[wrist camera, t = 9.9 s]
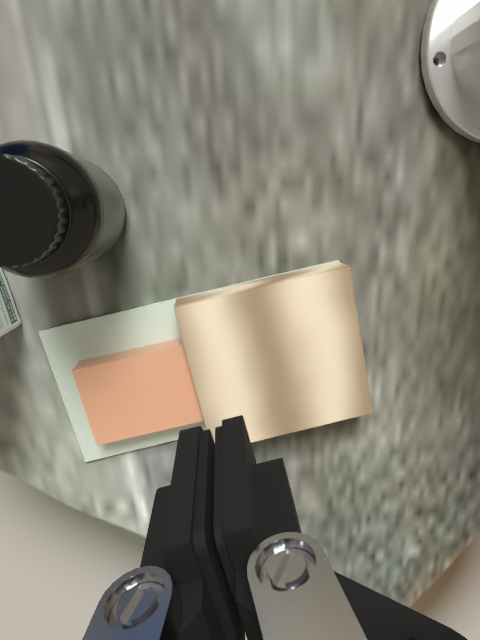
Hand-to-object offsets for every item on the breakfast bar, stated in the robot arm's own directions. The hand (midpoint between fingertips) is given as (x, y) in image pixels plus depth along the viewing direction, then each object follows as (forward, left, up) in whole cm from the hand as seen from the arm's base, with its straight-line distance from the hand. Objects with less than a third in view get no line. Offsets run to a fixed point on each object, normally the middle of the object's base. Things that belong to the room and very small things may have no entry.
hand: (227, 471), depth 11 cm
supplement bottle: (+8, -8, -22) cm, 25 cm away
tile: (+7, +5, -22) cm, 23 cm away
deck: (-3, +5, -22) cm, 23 cm away
